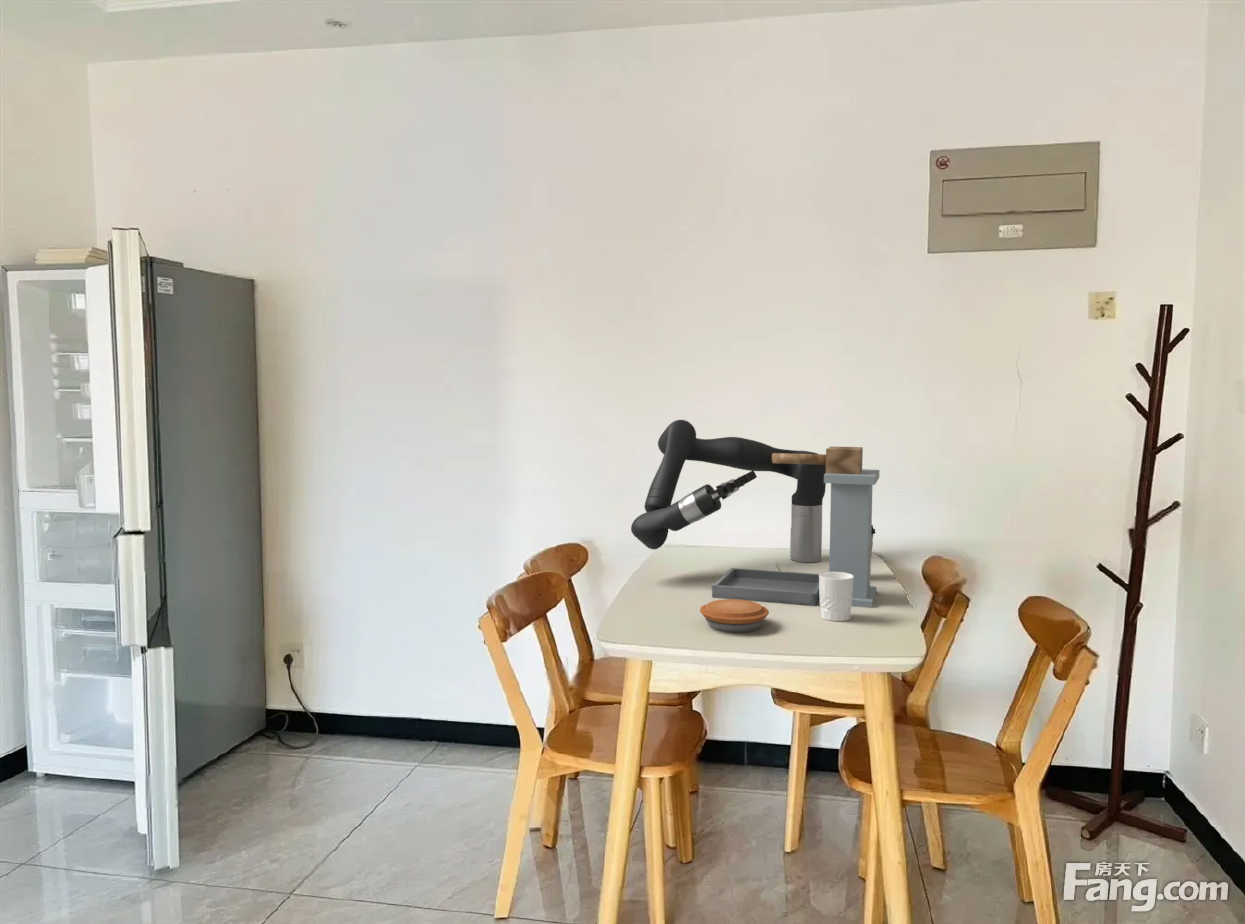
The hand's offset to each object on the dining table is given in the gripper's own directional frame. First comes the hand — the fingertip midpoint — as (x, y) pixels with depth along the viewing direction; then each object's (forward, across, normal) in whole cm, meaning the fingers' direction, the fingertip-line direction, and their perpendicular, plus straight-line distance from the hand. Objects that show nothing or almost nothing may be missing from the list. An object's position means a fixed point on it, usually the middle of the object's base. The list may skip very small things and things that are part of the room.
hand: (751, 475), depth 226 cm
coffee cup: (+6, +23, +39) cm, 46 cm away
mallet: (+15, 0, +7) cm, 17 cm away
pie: (-13, -34, +28) cm, 46 cm away
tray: (-11, 0, +29) cm, 31 cm away
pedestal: (+7, 0, +39) cm, 40 cm away
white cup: (+6, -20, +38) cm, 44 cm away
